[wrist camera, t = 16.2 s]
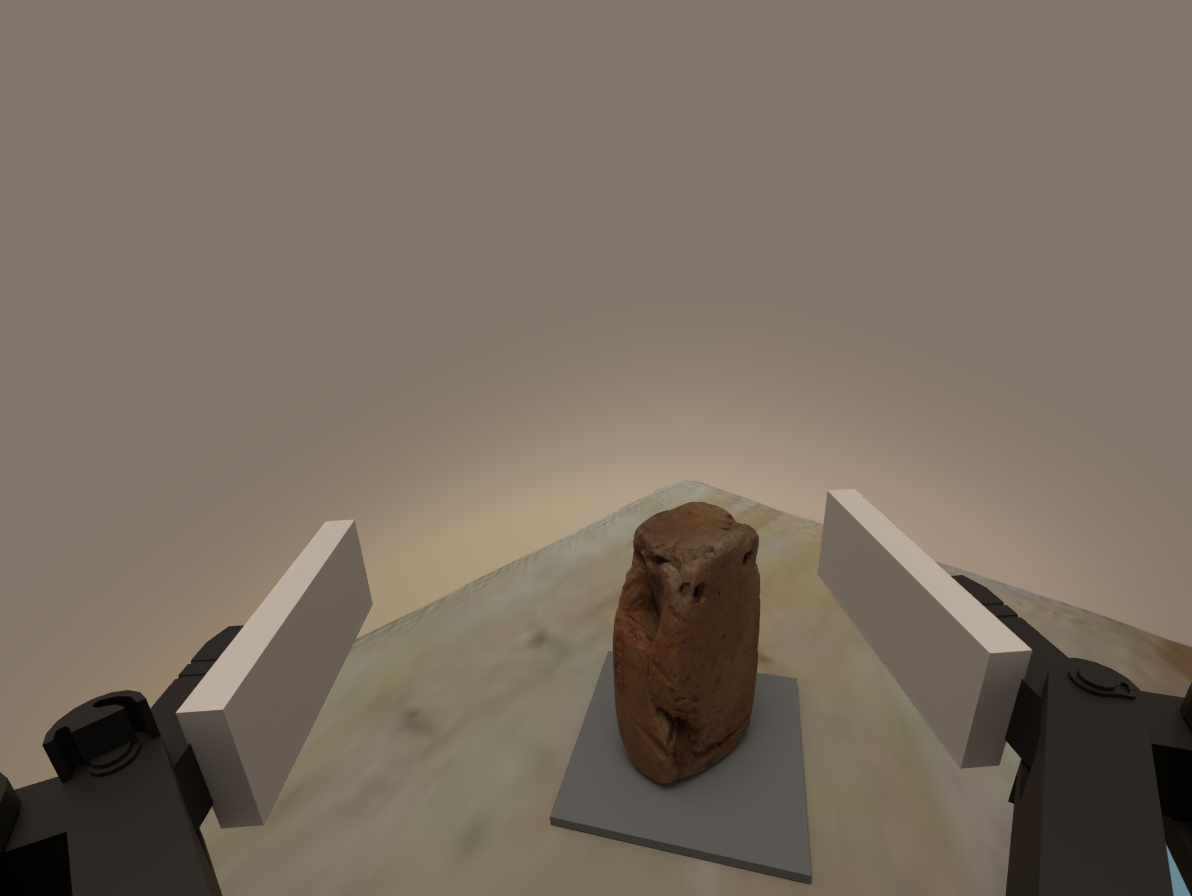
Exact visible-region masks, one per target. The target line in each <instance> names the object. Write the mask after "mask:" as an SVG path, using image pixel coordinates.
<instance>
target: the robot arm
mask: <svg viewBox="0 0 1192 896" xmlns="http://www.w3.org/2000/svg"><path fill="white" fill-rule="evenodd" d="M818 575H819V576H820V578H821V579H822V581H823V582H824V583H825V585H826V586H827V587H828V589H829V590H830V591H831V593H832V594H833V596H834V597H835V598H836V600H837V601H838V602H839V604H840V605H841V606H842V608H843V609H844V611H845V612H846V613H847V615H848V616H849V617H850V619H851V620H852V621H853V623H854V624H855V626H856V627H857V628H858V630H859V631H860V632H861V634H862V635H863V636H864V638H865V639H866V640H867V642H868V643H869V645H870V646H871V647H872V649H873V650H874V651H875V653H876V654H877V655H878V657H879V658H880V660H881V661H882V662H883V664H884V665H885V666H886V668H887V669H888V670H889V672H890V673H891V675H892V676H893V677H894V679H895V680H896V681H897V683H898V684H899V685H900V687H901V688H902V690H903V691H904V692H905V694H906V695H907V696H908V698H909V699H910V700H911V702H912V703H913V705H914V706H915V707H916V709H917V710H918V711H919V713H920V714H921V715H922V717H923V718H924V719H925V721H926V722H927V724H928V725H929V726H930V728H931V729H932V730H933V732H934V733H935V734H936V736H937V737H938V739H939V740H940V741H941V743H942V744H943V745H944V747H945V748H946V749H947V751H948V752H949V754H950V755H951V756H952V758H953V759H954V760H955V762H956V763H957V764H958V766H959V767H960V769H961V768H973V767H985V766H998V765H999V764H1000V761H1001V757H1002V754H1003V750H1004V747H1005V743H1006V741H1007V742H1008V743H1009V745H1010V746H1011V747H1012V748H1013V749H1014V750H1015V752H1016V753H1017V754H1018V755H1019V756H1020V757H1021V761H1020V765H1019V768H1018V771H1017V775H1016V778H1015V781H1014V784H1013V788H1012V791H1011V794H1010V797H1009V801H1008V802H1011V803H1013V804H1014V812H1013V822H1012V833H1011V844H1010V854H1009V865H1008V876H1007V886H1006V896H1174V895H1173V888H1172V881H1171V874H1170V868H1169V861H1168V854H1167V847H1168V849H1169V851H1170V853H1171V856H1172V858H1173V860H1174V862H1175V864H1176V866H1177V868H1178V870H1179V872H1180V875H1181V877H1182V879H1183V881H1184V883H1185V885H1186V887H1187V889H1188V891H1189V893H1190V896H1192V684H1191V685H1190V687H1189V689H1188V691H1187V694H1186V696H1185V698H1182V697H1176V696H1169V695H1163V694H1156V693H1150V692H1143V691H1140V689H1139V688H1138V687H1136V686H1135V685H1134V684H1133V683H1132V682H1131V681H1130V680H1129V679H1128V678H1126V677H1124V676H1123V675H1121V674H1119V673H1118V672H1116V671H1114V670H1113V669H1111V668H1108V667H1106V666H1103V665H1101V664H1098V663H1096V662H1092V661H1088V660H1083V659H1079V658H1068V657H1067V656H1066V655H1064V654H1063V653H1062V652H1061V651H1060V650H1059V649H1057V648H1056V647H1055V646H1054V645H1053V644H1052V643H1050V642H1049V641H1048V640H1047V639H1046V638H1045V637H1043V636H1042V635H1041V634H1040V633H1039V632H1038V631H1036V630H1035V629H1034V628H1033V627H1032V626H1031V625H1029V624H1028V623H1027V622H1026V621H1025V620H1024V619H1022V618H1018V614H1017V613H1015V612H1014V611H1013V610H1012V609H1011V608H1010V607H1008V606H1007V605H1004V604H1003V601H1001V600H1000V599H999V598H998V597H997V596H996V595H994V594H993V593H992V592H991V591H990V590H988V589H987V588H986V587H984V586H982V585H980V584H978V583H977V582H975V581H973V580H971V579H969V578H967V577H965V576H963V575H958V576H950V575H949V574H948V573H947V572H945V571H944V570H943V569H942V568H941V567H940V566H939V565H938V564H937V563H935V562H934V561H933V560H932V559H931V558H930V557H929V556H928V555H927V554H925V553H924V552H923V551H922V550H921V549H920V548H919V547H918V546H917V545H916V544H914V543H913V542H912V541H911V540H910V539H909V538H908V537H907V536H905V534H903V533H902V532H901V531H900V530H899V529H898V528H897V527H896V526H895V525H893V524H892V523H891V522H890V521H889V520H888V519H887V518H886V517H885V516H884V515H882V514H881V513H880V512H879V511H878V510H877V509H876V508H875V507H874V506H872V505H871V504H870V503H869V502H868V501H867V500H866V499H865V498H864V497H862V496H861V495H860V494H859V493H858V492H857V491H856V490H855V489H848V490H832V491H828V492H827V500H826V509H825V517H824V526H823V535H822V543H821V552H820V560H819V569H818ZM372 604H373V603H372V599H371V594H370V590H369V585H368V580H367V575H366V571H365V566H364V561H363V556H362V552H361V547H360V542H359V538H358V534H357V529H356V524H355V520H342V521H326V522H325V523H324V525H323V526H322V527H321V529H320V530H319V531H318V532H317V534H316V535H315V536H314V537H313V539H312V540H311V541H310V543H309V544H308V545H307V546H306V548H305V549H304V550H303V551H302V553H301V554H300V555H299V557H298V558H297V559H296V560H295V562H294V563H293V564H292V565H291V567H290V568H289V569H288V571H287V572H286V573H285V574H284V576H283V577H282V578H281V580H280V581H279V582H278V583H277V585H276V586H275V587H274V588H273V590H272V591H271V592H270V593H269V595H268V596H267V597H266V599H265V600H264V601H263V602H262V604H261V605H260V606H259V607H258V609H257V610H256V611H255V613H254V614H253V615H252V617H251V618H250V619H249V620H248V622H247V623H246V624H245V625H242V626H229V627H227V628H226V629H224V630H223V631H222V632H220V633H219V634H217V635H216V636H215V637H213V638H212V639H211V640H209V641H208V642H206V644H205V645H204V646H203V647H202V648H201V649H200V651H199V652H198V653H197V654H196V655H195V657H194V658H193V659H192V660H191V664H188V665H187V666H186V667H185V668H184V670H183V671H182V672H181V673H180V674H179V678H178V679H175V680H174V681H173V683H172V684H171V685H170V686H169V687H168V688H167V690H166V691H165V692H164V693H163V694H162V696H161V697H160V698H159V699H158V700H157V701H156V703H155V704H154V705H153V706H152V707H151V709H150V707H149V705H148V702H147V700H146V698H145V697H144V696H143V695H142V694H141V693H140V692H136V691H130V690H127V691H119V692H112V693H109V694H106V695H103V696H100V697H97V698H94V699H92V700H90V701H88V702H86V703H84V704H82V705H80V706H78V707H76V708H75V709H73V710H72V711H70V712H69V713H68V714H66V715H65V716H63V717H62V718H61V719H59V720H58V721H57V722H56V723H55V724H54V725H53V727H52V728H51V729H50V730H49V731H48V732H47V734H46V736H45V739H44V742H43V747H44V749H45V751H46V753H47V755H48V757H49V759H50V761H51V763H52V765H53V767H54V769H55V770H56V772H57V774H58V776H59V777H55V778H52V779H49V780H45V781H42V782H39V783H36V784H32V785H29V786H26V787H22V788H19V789H16V790H14V789H13V787H12V786H11V784H10V782H9V780H8V778H7V777H5V776H4V775H3V774H2V773H0V896H222V893H221V890H220V887H219V884H218V881H217V878H216V875H215V872H214V868H213V865H212V862H211V859H210V856H209V853H208V850H207V847H206V844H205V841H204V838H203V835H202V833H201V831H200V828H199V827H200V826H201V824H202V822H203V821H204V819H205V817H206V816H207V814H208V812H209V811H210V809H211V807H213V809H214V812H215V814H216V817H217V819H218V822H219V824H220V827H221V828H233V827H245V826H258V825H264V824H265V822H266V820H267V818H268V816H269V814H270V812H271V809H272V807H273V805H274V803H275V801H276V799H277V797H278V795H279V793H280V791H281V789H282V787H283V785H284V783H285V781H286V779H287V777H288V775H289V773H290V771H291V769H292V767H293V765H294V763H295V761H296V759H297V757H298V755H299V753H300V751H301V749H302V747H303V745H304V742H305V740H306V738H307V736H308V734H309V732H310V730H311V728H312V726H313V724H314V722H315V720H316V718H317V716H318V714H319V712H320V710H321V708H322V706H323V704H324V702H325V700H326V698H327V696H328V694H329V692H330V690H331V688H332V686H333V684H334V682H335V680H336V678H337V675H338V673H339V671H340V669H341V667H342V665H343V663H344V661H345V659H346V657H347V655H348V653H349V651H350V649H351V647H352V645H353V643H354V641H355V639H356V637H357V635H358V633H359V631H360V629H361V627H362V624H363V622H364V621H365V619H366V617H367V614H368V613H369V610H370V608H371V606H372ZM1166 845H1167V847H1166Z"/></svg>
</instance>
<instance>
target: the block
mask: <svg viewBox="0 0 1192 896" xmlns="http://www.w3.org/2000/svg"><path fill="white" fill-rule="evenodd" d="M633 543H634V545H633V546H634V554H633V561H632V567H631V568H630V570H629V571H628V572H627V574H626V581H625V584H624V585H623V587H622V594H621V596H620V600H619V606H618V609H617V611H616V616H615V622H614V633H613V671H614V692H615V706H616V716H617V722H618V728H619V732H620V736H621V739H622V742H623V744H624V746H625V748H626V750H627V752H628V754H629V756H630V759H631V761H632V763H633V764H634V765H635V766H636V767H637V768H638V769H639V770H640V771H641V772H642V773H644V774H645V775H647V776H648V777H650V778H651V779H653V780H654V781H656V782H658V783H662V784H666V783H671V782H673V781H675V780H677V779H678V778H684V777H687V776H690V775H694V774H697V773H699V772H701V771H703V770H704V769H706V768H707V767H709V766H710V765H712V764H713V763H715V762H716V761H718V760H719V759H721V758H723V757H724V756H725V755H726V754H727V753H728V752H729V751H730V750H731V749H732V748H733V747H734V746H735V745H736V744H737V743H738V741H739V740H740V739H741V737H743V736H744V734H745V732H746V731H747V729H748V727H749V724H750V719H751V713H752V707H753V701H754V694H755V686H756V676H757V665H758V651H757V648H758V638H759V619H760V598H759V596H760V574H759V571H758V567H757V564H756V555H757V551H758V547H759V536H758V534H757V533H756V531H755V530H754V529H753V528H752V527H750V526H749V525H746V524H740V523H737V522H736V521H735V520H734V519H733V517H732V515H731V514H730V513H728V512H727V511H726V510H725V509H723V508H720V507H718V506H716V505H711V504H708V503H704V502H690V503H686V504H684V505H681V506H679V507H677V508H675V509H672V510H667V511H663V512H660V513H658V514H656V515H654V516H652V517H650V518H649V519H648V520H646V521H645V522H643V523H642V524H641V525H640V526H639V527H638V528H637V529H636V531H635V534H634V541H633Z"/></svg>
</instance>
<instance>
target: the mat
mask: <svg viewBox="0 0 1192 896" xmlns="http://www.w3.org/2000/svg"><path fill="white" fill-rule="evenodd" d="M550 821H551V825H555V826H560V827H564V828H569V829H573V830H577V831H582V832H586V833H590V834H595V835H599V836H603V837H608V838H612V839H616V840H621V841H625V842H629V843H634V844H638V845H642V846H647V847H651V848H655V849H660V850H664V851H668V852H673V853H677V854H681V855H686V856H690V857H694V858H699V859H703V860H708V861H712V862H716V863H721V864H725V865H729V866H734V867H738V868H742V869H747V870H751V871H755V872H760V873H764V874H768V875H773V876H777V877H781V878H786V879H790V880H794V881H799V882H803V883H807V884H810V882H811V865H810V852H809V838H808V825H807V811H806V798H805V784H804V771H803V758H802V744H801V731H800V717H799V704H798V690H797V679H796V678H789V677H782V676H775V675H768V674H761V673H757V676H756V686H755V694H754V701H753V707H752V713H751V719H750V724H749V727H748V729H747V731H746V732H745V734H744V736H743V737H741V739H740V740H739V741H738V743H737V744H736V745H735V746H734V747H733V748H732V749H731V750H730V751H729V752H728V753H727V754H726V755H725V756H724V757H723V758H721V759H719V760H718V761H716V762H715V763H713V764H712V765H710V766H709V767H707V768H706V769H704V770H703V771H701V772H699V773H697V774H694V775H690V776H687V777H684V778H678V779H677V780H675V781H673V782H671V783H666V784H662V783H658V782H656V781H654V780H653V779H651V778H650V777H648V776H647V775H645V774H644V773H642V772H641V771H640V770H639V769H638V768H637V767H636V766H635V765H634V764H633V763H632V761H631V759H630V756H629V754H628V752H627V750H626V748H625V746H624V744H623V742H622V739H621V736H620V732H619V728H618V722H617V716H616V706H615V692H614V671H613V652H610V651H608V654H607V657H606V660H605V663H604V666H603V668H602V671H601V674H600V677H599V680H598V683H597V685H596V688H595V691H594V694H593V697H592V700H591V702H590V705H589V708H588V711H587V714H586V717H585V719H584V722H583V725H582V728H581V731H580V734H579V736H578V739H577V742H576V745H575V748H574V750H573V753H572V756H571V759H570V762H569V765H568V767H567V770H566V773H565V776H564V779H563V782H562V784H561V787H560V790H559V793H558V796H557V799H556V801H555V804H554V807H553V810H552V813H551V816H550Z"/></svg>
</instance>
